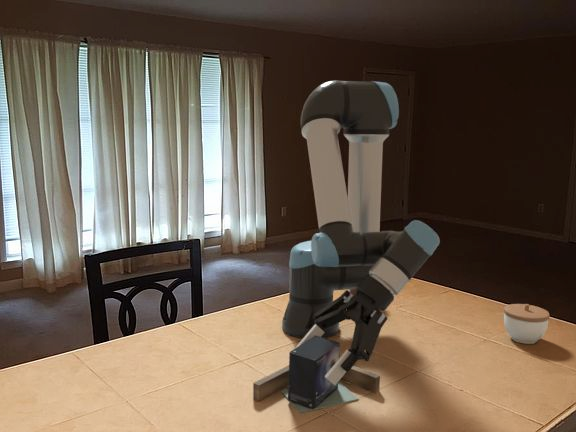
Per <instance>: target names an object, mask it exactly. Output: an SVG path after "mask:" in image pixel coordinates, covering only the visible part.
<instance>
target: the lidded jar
mask: <svg viewBox="0 0 576 432" xmlns="http://www.w3.org/2000/svg"><path fill="white" fill-rule="evenodd" d="M549 320H550V313H549V311H548V310H546V309H544V308H543V307H542V308H541V307H539V306H537V305H536V306H535V305H531V304H529V303H511V304H507V305H505V307H504V308H503V322H504V323H503V324H504V329H505V331H506V332H507V335H509V336H510V338H511V340H513V341H514V342H516V343H521V344H525V345H531V344H532V345H533V344H535V343H537V342H538V341H539V340H541V339H542V338H543V337H544V335H545V334H546V332H547V329H548V325H549Z"/></svg>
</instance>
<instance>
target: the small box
mask: <svg viewBox="0 0 576 432" xmlns="http://www.w3.org/2000/svg"><path fill="white" fill-rule="evenodd" d="M340 347H341V342H339V341H336V340H332V339H329V338H322V337H319V336H314V337H312V338H311V339H309V340H307V341H306V342H304V343H303V344H301V345H300V346H298V347H297V348H293V349H292V350H291V351H289V356H288V359H289V360H288V365H289V384H288V385H289V386H287V387H288V388H287V389H288V399H287V401H288V402H290V401H291V402H294V403H297V404H299V405H302V406H305V407H308V408H311V409H314V408H316V407H317V406H318V405H319V404H320V403H321V402H323V401H324V400H325V399H326V398H327V397H328V396H330V395H331V394H332V393H333V392H334V391H335V390H337V389H338V383H337V384H336V385H334V384H333V383H331V382H330V381H329V380H328V379H327V378H326V377H325V375H326V374H327V373H328V372H329V370H330V369H331V368H332V367H333V366H334V364H335V363H336V362H337V361H338V360H339V358H340V352H341V351H340V350H341V349H340ZM291 402H290V403H291Z"/></svg>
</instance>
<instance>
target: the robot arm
mask: <svg viewBox="0 0 576 432" xmlns="http://www.w3.org/2000/svg"><path fill="white" fill-rule="evenodd" d="M397 96H398V95H397V94H396V92H395V89H394V88H393V86H392V85H391V84H389V83H387V82H384V81H383V82H382V81H373V80H371V81H367V80H365V81H363V80H361V81H359V80H357V81H355V80H354V81H353V80H336V79H335V80H329V81H326V82H323V83H322V84H320V85H318V86H317V87H316V88H315V89H314V90H313V91H312V92H311V93H310V94H309V96H308V97H307V99H306V100H305V102H304V104H303V108H302V110H301V114H300V129H301V130H300V132H301V135H302V137H303V138H304V139H306V143H307V151H308V159H309V164H310V165H309V166H310V172H311V173H310V174H311V180H312V186H313V187H312V189H313V193H314V196H313V197H314V201H315V202H314V203H315V209H316V216H317V217H316V218H317V223H318V231H319V232H318V233H317V232H316V233H315V234H313V236H312V237H311V239H310V240H307V241H303V242H299V243H298V244H296V245H294V246H293V247H292V248H291V251H290V255H289V262H288V267H289V288H288V289H289V297H288V299H289V300H288V302H287V306H286V308H285V310H284V311H285V312H284V315H283V316H282V321H281V322H282V325H281V327H282V330H283V332H284V333H286V334H288V335H290V336H292V337H295V338H300V339H301V340H300V342H298V343H297V345H296V346H295V348H297V347H298V346H300V345H301V344H303V343H304V342H306V341H307V340H309V339H311V338H312V337H314V336H319V337H322V338H325V339H327V338H329V337H332V336H334V335H336V334H337V333H338V332H339V329H340V328H339V327H340V323H342V322H343V321H345V320H348V321H350V320H351V321H352V322H354V324H355V325H354V331H353V336H352V341H351V346H350V347H349V348H347V349H346V350H345V351H344V352H343V353H342V355H340V356H339V360H338V361H337V362H336V363H335V364H334V366H333V367H332V368H331V369H330V370H329V372H328V373H327V374H326V375H325V377H326V378H327V379H328V380H329V381H330V382H331V383H333V384H334V385H336V384H337V383H338V381H339V382H340V381H341V380H340V379H341V378H342V377H343V375H344V374H345V373H346V372H348V371H349V370H350V369H351V368H352V366H355V364H356V363H357V362H358V361H360V360H364V362H368V361H370V359H371V356H372V355H373V352H374V348H375V346H376V343H377V342H378V339H379V335H380V333H381V331H382V327H383V326H384V325H385V323H386V322H387V320H388V317H387V316H386V315H385V314H384V312H385V311H386V310H387V309H388V307H390V305H391V304H392V302H393V301H394V300H395V296H398V295H399V294H400V292H401V291H402V290H403V289H404V288H405V287H406V285H407V284H408V283H409V282H410V281H411V279H412V278H413V277H414V275H416V273H418V271H419V270H420V269H421V268H422V266H423V265H424V264H425V263H426V262H427V260H428V259H429V258H430V257H431V256H432V255H433V254H434V253H435V250H437V247H438V246H440V242H441V240H440V237H439V235H438V233H437V232H435V231H434V229H433V228H431V227H430V226H429V225H428V224H426V223H425V222H423V221H421V220H417V219H414V220H412V221H410V223H408V225H407V226H404V229H403V230H402V231H394V230H391V229H389V230H382V231H380V229H381V227H380V226H381V223H380V222H381V205H382V203H381V199H382V197H381V196H382V175H383V174H382V172H383V152H384V151H383V150H384V149H383V147H384V146H383V145H384V141H386V139H388V137H389V136H390V130H392V129H393V128H395V127H396V126H397V124H398V119H399V114H400V109H399V100H398V97H397ZM341 129H343V136H344V137H345V138H346V139H347V141H348V145H349V146H348V148H349V149H348V177H347V180H348V181H347V185H346V180H345V179H346V178H345V173H344V167H343V161H342V153H341V149H340V144H339V143H340V142H339V133H340V131H341ZM352 289H357V293H356V294H355V295H354V296H353V295H352V294H351V293H350V290H352ZM335 291H343V292H342V294H341V295H340V296H339V297H338V298H336V299H335V300H334V292H335ZM382 311H383V312H382ZM295 348H294V349H295Z"/></svg>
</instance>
